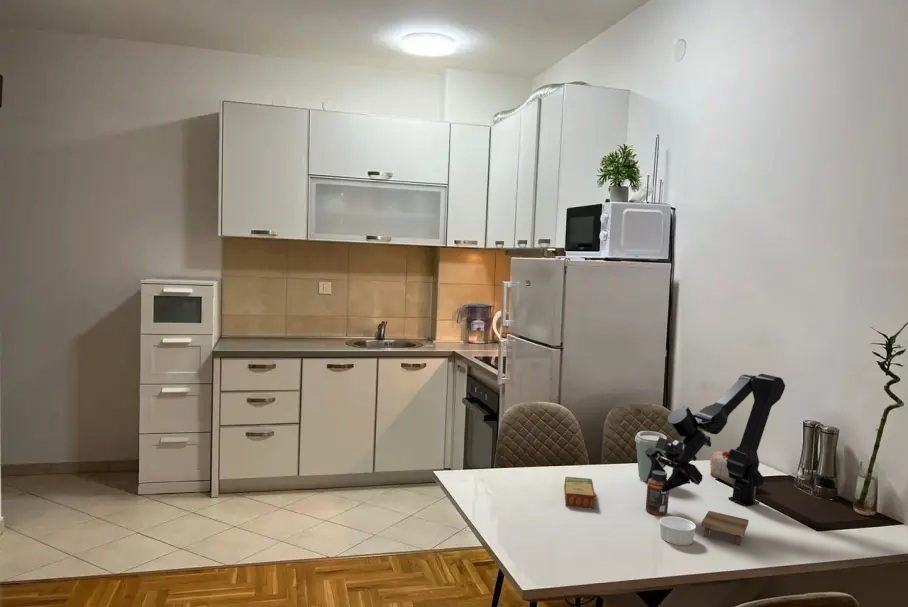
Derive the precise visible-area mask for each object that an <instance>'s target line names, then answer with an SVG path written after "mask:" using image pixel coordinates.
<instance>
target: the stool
mask: <svg viewBox="0 0 908 607" xmlns="http://www.w3.org/2000/svg"><path fill="white" fill-rule="evenodd" d="M748 526H749V519H747V518H743V517H739V516H733V515H729V514H726V513H721V512H716V511H712V510H708V511H707V513H706V514H705V515H704V517H703V519H702V520H701V527H703V534H702V535H703V537H704V538H707V539H709V538H710V533H711V532H710V531H711V529H712V530H715V531H719V532H723V533H728V534H732V535H735V536H734V545H736V546H741V543H742V542H741V541H742V537H745V536H746V535H745V534H746V530H747V528H748Z"/></svg>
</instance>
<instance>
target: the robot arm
mask: <svg viewBox="0 0 908 607" xmlns="http://www.w3.org/2000/svg"><path fill="white" fill-rule="evenodd" d="M785 389H786V384H785V382H784V380H783V378H782V377H779V376H775V375H770V374H765V373H759V374H758V375H749V374H741V375H740V376H739V377H738V380H737V381H736V382H735V383H734V384H733V385H732V386H731V387H729V389H728V390H726V392H725V393H724V394H723V395H722V396H721V397H720V398H719V399H718V400H717V401H716V402H714V403H713V404H710V405H708V406H704V408H702V409H700V410H699V411H697V413H695V414H693V413H692V412H691V409H690V408H689V407H687V406H684V405H683V406H681V408H678V409H675V410H673V411H671V412H670V413H669V414H668V417H667V422H668V423H669V424H670V425H671V427H672V428H673V430H674V431H675V432H676V434H677V435H678V436H679V437H681V438H680V439H679V440H676V439H675V440H673V441H671V440H669V439H668V438H667V439H668V440H667V439H664V438H661V437H659V439H658V441H657V443H656V446H655V447H656V448H660V449H661V450H663V451H664V452H663V453H664V455H665V457H664V456H663V454H662V453H661V452H660V451H659V450H657V449H655V448H648V449H647V450H646V451H645V454H646V455H647V457H648V458H649V459H650V461H651V469H650V472H649V475H648V478H647V481H646V482H645V484H646V485H647V486H648V480H649V479H650V478H652V472H653V471H663V472H666V470H665V469H664V468H666V466H667V467H669V468H672V471H671V474H670V476H669V477H667V481H666V482H665V484H664V485H663V487H662V488H661V491H662V492H666V491H668V490H669V491H670V490H673V489H676V488H678V487H682V486H683V485H687V484H689V485H690V484H691V483H693V484H694V485H697V486H699V485H700V484H701V482H702V481H703V477H704V476H703V474H702V473H701V472H700V470H699V469H698V468H697V466H696V465H695V464H692V463H690V462H692V461H694V462H696V461H697V459H698V458H697V456H696V455H697V454H698V452H699V451H700V450H701V449H702V448H703V447H704V445H705V446H706V447H709V448H710V447H711V446H712V441H711V438H712V437H711V436H709V435H706V433H708V434H711V435H718V434H720V433H721V432H722V431H723V429H724V428H725V426H726V425H727V423H728V418H729V416H730V415H731V413H733V412H734V411H735V409H737V408H738V406H740V404H742V403H743V402H744V400H746V398H747V397H748V396H749V395H750V394H751V393H752V397H753V399H754V400H753V401H754V402H753V404H752V407H751V411H750V413H749V416H748V419H747V422H746V425H745V428H744V432H743V435H742V438H741V440H740V443H739V445H738V447H736V448H735V449H733V448H731V449H730V450H729V451H728V452H729V456H728V458H727V460H726V461H727V469H728V473H729V478H733V479H735V481H734V486H733V487H732V488H733V489H732V496H728V500H730V501H733V502H735V503H738V504H740V505H743V506H745V507H748V506H753V505H757V504H758V505H759V504H760V501H758V500H756V492H757V488H759V487H760V486H763V485H764V481H765V478H764V476H763V475H762V473H761V472H760V471H759V466H760V458H759V454H758V449H759V447H760V444H761V440H762V437H763V435H764V430H765V428H766V425H767V421H768V419H769V415H770V412H771V410H772V407H773V406H774V405H775V404H776V403H778V402H779V401H780V400H781V398H782V396H783V394H784V392H785ZM666 473H667V472H666Z"/></svg>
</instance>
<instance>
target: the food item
mask: <svg viewBox="0 0 908 607" xmlns="http://www.w3.org/2000/svg"><path fill="white" fill-rule="evenodd" d="M729 452H730V451H713V452H710V464H709V465H710V476H711V475H712V477H714V478H716V479H719V480H721V481H723V482H725V483H727V484H729V485H731V486H733V487H734V481H735V479H733V478H729V473H728V469H727V461H726V460H727V458H728V456H729Z"/></svg>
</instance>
